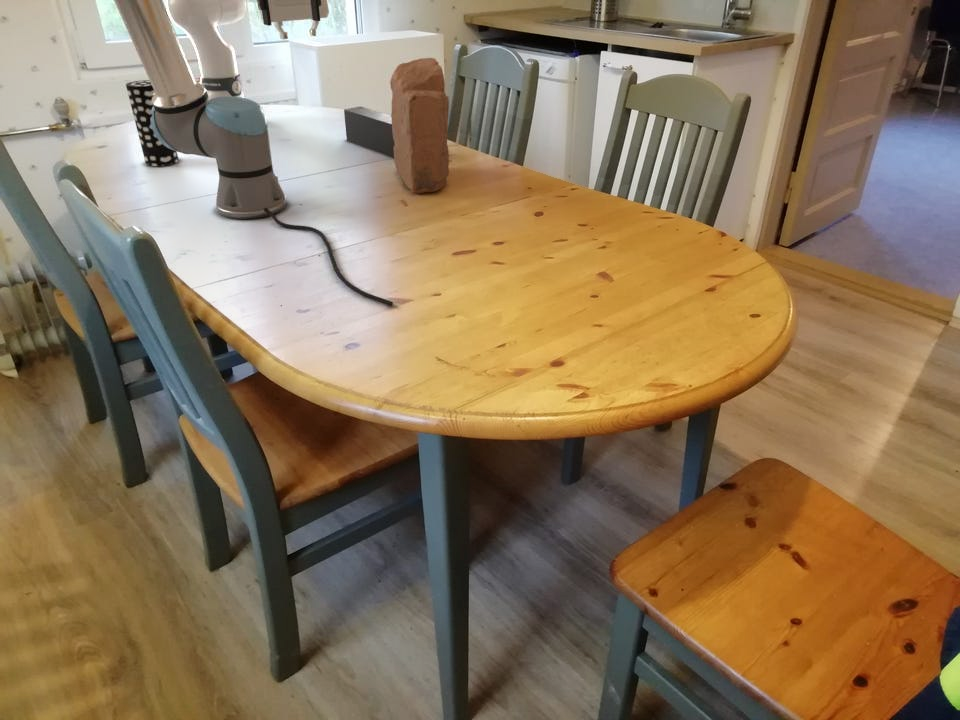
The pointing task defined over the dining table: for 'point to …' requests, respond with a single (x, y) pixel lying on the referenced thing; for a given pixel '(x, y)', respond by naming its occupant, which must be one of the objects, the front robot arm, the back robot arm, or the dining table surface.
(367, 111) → the bar
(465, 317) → the dining table surface
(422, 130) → the stone
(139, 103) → the black white spotted cylinder
